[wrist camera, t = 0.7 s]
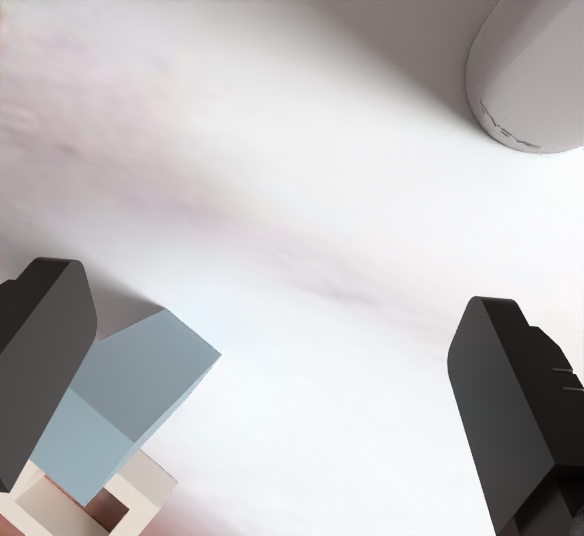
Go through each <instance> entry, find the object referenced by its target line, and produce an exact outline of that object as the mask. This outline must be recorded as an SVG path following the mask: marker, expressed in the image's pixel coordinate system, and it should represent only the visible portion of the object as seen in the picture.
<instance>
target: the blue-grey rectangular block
mask: <svg viewBox="0 0 584 536" xmlns="http://www.w3.org/2000/svg"><path fill="white" fill-rule="evenodd" d="M221 355H222V354H220V353H219V352H218V351H217V350H216V349H214V348H213V347H212V346H211V345H210V344H208V343H207V342H206V341H205V340H204V339H202V338H201V337H200V336H199V335H197V334H196V333H195V332H194V331H193V330H191V329H190V328H189V327H188V326H187V325H185V324H184V323H183V322H182V321H181V320H179V319H178V318H177V317H176V316H175V315H173V314H172V313H171V312H170V311H169V310H167V309H164V310H162V311H160V312H158V313H155V314H153V315H151V316H149V317H147V318H145V319H143V320H141V321H139V322H137V323H135V324H133V325H131V326H129V327H127V328H125V329H122V330H120V331H118V332H116V333H114V334H112V335H110V336H108V337H106V338H104V339H102V340H100V341H98V342H96V343H94V344H92V345H91V347H90V349H89V351H88V352H87V354H86V356H85V358H84V360H83V361H82V363H81V365H80V367H79V369H78V370H77V372H76V374H75V376H74V378H73V379H72V381H71V383H70V385H69V387H68V389H67V390H66V392H65V394H64V396H63V398H62V399H61V401H60V403H59V405H58V407H57V408H56V410H55V412H54V414H53V416H52V418H51V419H50V421H49V423H48V425H47V427H46V428H45V430H44V432H43V434H42V436H41V437H40V439H39V441H38V443H37V445H36V446H35V448H34V450H33V452H32V454H31V456H30V457H29V460H30V461H32V462H33V463H34V464H35V465H36V466H37V467H39V468H40V469H41V470H42V471H43V472H44V473H46V474H47V475H48V476H49V477H50V478H51V479H52V480H54V481H55V482H56V483H57V484H58V485H59V486H61V487H62V488H63V489H64V490H65V491H66V492H67V493H69V494H70V495H71V496H72V497H73V498H74V499H76V500H77V501H78V502H79V503H80V504H81V505H82V506H84V507H85V506H86V505H87V503H88V502H89V501H90V500H91V499H92V498H93V497H94V496H95V495H96V494H97V493H98V492H99V491H100V490H101V489H102V488H103V487H104V485H105V484H106V483H107V482H108V481H109V480H110V479H111V478H112V477H113V476H114V475H115V474H116V473H117V472H118V471H119V470H120V468H121V467H122V466H123V465H124V464H125V463H126V462H127V461H128V460H129V459H130V458H131V457H132V456H133V455H134V454H135V453H136V452H137V450H138V449H139V448H140V447H141V446H142V445H143V444H144V443H145V442H146V441H147V440H148V439H149V438H150V437H151V436H152V435H153V433H154V432H155V431H156V430H157V429H158V428H159V427H160V426H161V425H162V424H163V423H164V422H165V421H166V420H167V419H168V418H169V417H170V415H171V414H172V413H173V412H174V411H175V410H176V409H177V408H178V407H179V406H180V405H181V404H182V403H183V402H184V401H185V400H186V398H187V397H188V396H189V395H190V394H191V393H192V391H193V390H194V389H195V388H196V386H197V385H198V384H199V383H200V381H201V380H202V379H203V378H204V376H205V375H206V374H207V373H208V371H209V370H210V369H211V368H212V366H213V365H214V364H215V363H216V361H217V360H218V359H219V358H220V356H221Z"/></svg>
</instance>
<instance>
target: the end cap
mask: <svg viewBox="0 0 584 536" xmlns="http://www.w3.org/2000/svg"><path fill="white" fill-rule="evenodd" d="M45 474H46V473H44V472H43V471H42V470H41V469H40V468H39V467H37V466H36V465H35V464H34V463H33V462H32V461H30V460H29V459H28V461H27V463H26V465H25V466H24V468H23V470H22V472H21V474H20V475H19V477H18V479H17V481H16V483H15V485H14V486H13V488H12V490H11V492H10V493H1V492H0V513H1V514H2V515H3V516H4V517H5V518H6V519H8V520H9V521H10V522H11V523H12V524H13V525H14V526H16V527H17V528H18V529H19V530H20V531H21V532H22V533H24V534H25V535H26V536H138V535H139V534H140V532H141V531H142V530H143V529H144V528H145V526H146V525H147V524H148V523H149V522H150V520H151V519H152V518H153V517H154V516H155V515H156V513H157V512H158V511H159V510H160V508H161V507H162V505H163V504H164V503H165V501H166V500H167V498H168V497H169V495H170V494H171V492H172V491H173V489H174V488H175V486H176V485H177V483H178V482H177V481H176V480H175V479H174V478H173V477H171V476H170V475H169V474H168V473H167V472H166V471H164V470H163V469H162V468H161V467H160V466H159V465H157V464H156V463H155V462H154V461H153V460H152V459H150V458H149V457H148V456H147V455H146V454H145V453H143V452H142V451H141V450H140V449H138V450H137V452H136V453H135V454H134V455H133V456H132V457H131V458H130V459H129V460H128V461H127V462H126V463H125V464H124V465H123V466H122V467H121V468H120V470H119V471H118V472H117V473H116V474H115V475H114V476H113V477H112V478H111V479H110V480H109V481H108V482H107V483H106V484H105V485H104V488H105V489H107V490H108V491H109V492H110V493H111V494H112V495H114V496H115V497H116V498H117V499H118V500H119V501H120V502H122V503H123V504H124V505H125V506H126V507H127V508H129V510H128V511H127V513H126V514H125V515H124V516H123V518H122V519H121V520H120V521H119V522H118V524H117V525H116V526H115V527H114V528H113V530H112V531H111V532H110V533H109V532H108V531H107V530H105V529H104V528H103V527H102V526H101V525H100V524H99V523H97V522H96V521H95V520H94V519H93V518H92V517H90V516H89V515H88V514H87V513H86V512H85V511H84V510H82V509H81V508H80V507H79V506H78V505H77V504H75V503H74V502H73V501H72V500H71V499H70V498H69V497H67V496H66V495H65V494H64V493H63V492H62V491H61V490H59V489H58V488H57V487H56V486H55V485H54V484H52V483H51V482H50V481H49V480H48V479H47V478H46V477H44V475H45Z"/></svg>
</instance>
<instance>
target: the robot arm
mask: <svg viewBox="0 0 584 536" xmlns="http://www.w3.org/2000/svg"><path fill="white" fill-rule="evenodd" d="M465 84H466V93H467V98H468V101H469V104H470V106H471V109H472V112H473V114H474V115H475V117H476V118H477V120H478V122H479V123H480V125H481V126H482V127H483V128H484V129H485V130H486V131H487V132H488V133H489V134H490V135H491V136H492V137H493V138H494V139H496V140H498V141H499V142H501V143H503V144H504V145H506V146H508V147H510V148H513V149H516V150H519V151H522V152H527V153H535V154H550V153H560V152H564V151H567V150H571V149H574V148H578V147H581V146H584V0H499V1H498V2H497V4H496V5H495V7H494V8H493V10H492V12H491V13H490V15H489V16H488V18H487V19H486V21H485V22H484V24H483V26H482V27H481V29H480V31H479V32H478V34H477V36H476V38H475V40H474V42H473V44H472V46H471V49H470V52H469V56H468V59H467V63H466V73H465ZM96 328H97V316H96V312H95V308H94V304H93V300H92V296H91V292H90V289H89V285H88V281H87V277H86V273H85V270H84V267H83V265H82V263H81V262H80V261H78V260H71V259H59V258H48V257H38V258H36V259H34V260H33V261H32V262H31V263H30V265H29V266H28V267H27V268H26V269H25V270H24V271H23V273H22V274H21V275H20V276H19V277H18V278H17V279H16V280H10V279H9V280H7V281H6V282H4V283H2V284H1V285H0V492H1V493H10V492H11V490H12V488H13V486H14V485H15V483H16V481H17V479H18V477H19V475H20V474H21V472H22V470H23V468H24V466H25V465H26V463H27V461H28V459H29V457H30V456H31V454H32V452H33V450H34V448H35V446H36V445H37V443H38V441H39V439H40V437H41V436H42V434H43V432H44V430H45V428H46V427H47V425H48V423H49V421H50V419H51V418H52V416H53V414H54V412H55V410H56V408H57V407H58V405H59V403H60V401H61V399H62V398H63V396H64V394H65V392H66V390H67V389H68V387H69V385H70V383H71V381H72V379H73V378H74V376H75V374H76V372H77V370H78V369H79V367H80V365H81V363H82V361H83V360H84V358H85V356H86V354H87V352H88V351H89V349H90V347H91V345H92V343H93V340H94V337H95V334H96ZM447 367H448V375H449V379H450V382H451V385H452V389H453V392H454V396H455V399H456V402H457V406H458V409H459V412H460V416H461V419H462V422H463V426H464V429H465V433H466V436H467V439H468V443H469V446H470V449H471V453H472V456H473V460H474V463H475V466H476V470H477V473H478V476H479V480H480V483H481V486H482V490H483V493H484V497H485V500H486V503H487V507H488V510H489V513H490V517H491V520H492V524H493V527H494V530H495V534H496V536H584V387H583V386H582V384H581V382H580V381H579V379H578V377H577V375H576V374H573V369H572V367H571V365H570V364H569V362H568V360H567V358H566V357H565V355H564V353H563V352H562V350H561V348H560V347H559V346H558V345H557V344H556V343H555V342H554V341H553V340H552V339H551V338H550V337H549V336H547V335H546V334H545V333H544V332H543V331H542V330H541V329H540V328H539V327H535V326H529V324H528V322H527V321H526V319H525V317H524V315H523V313H522V311H521V309H520V308H519V306H518V304H517V303H516V302H515V301H514V300H512V299H503V298H491V297H480V296H474V297H472V298H471V299H470V301H469V302H468V304H467V307H466V309H465V311H464V314H463V316H462V319H461V321H460V323H459V326H458V328H457V331H456V333H455V335H454V338H453V340H452V343H451V345H450V348H449V352H448V359H447Z"/></svg>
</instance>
